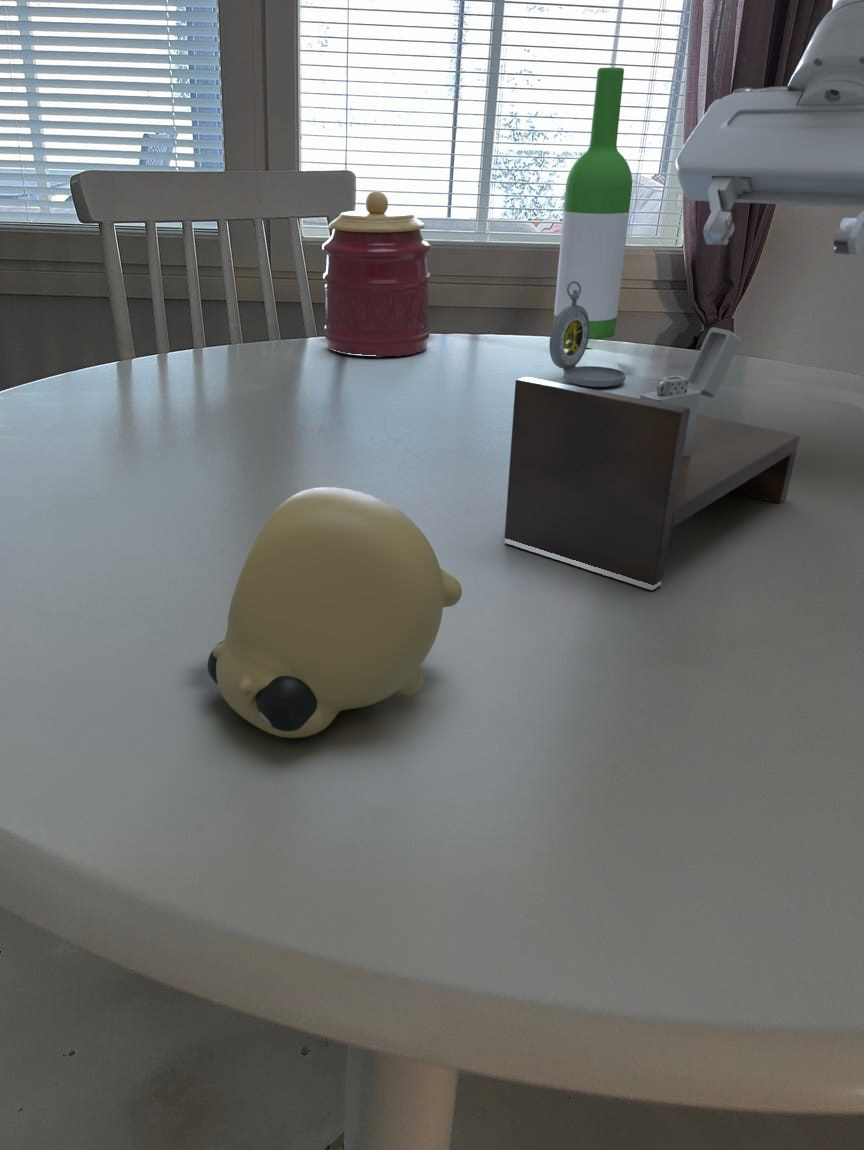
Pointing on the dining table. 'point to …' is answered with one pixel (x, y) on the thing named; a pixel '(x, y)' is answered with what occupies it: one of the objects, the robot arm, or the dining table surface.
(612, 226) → the wine bottle
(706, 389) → the lighter
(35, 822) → the dining table surface
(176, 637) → the dining table surface
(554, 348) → the pocket watch
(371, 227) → the kitchen canister
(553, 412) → the shelf
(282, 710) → the toy pig
